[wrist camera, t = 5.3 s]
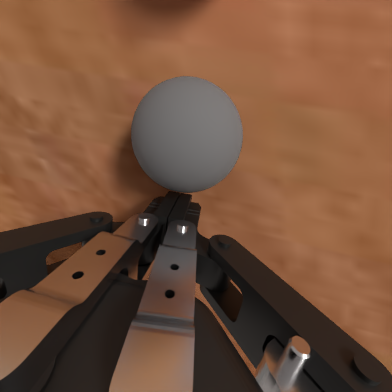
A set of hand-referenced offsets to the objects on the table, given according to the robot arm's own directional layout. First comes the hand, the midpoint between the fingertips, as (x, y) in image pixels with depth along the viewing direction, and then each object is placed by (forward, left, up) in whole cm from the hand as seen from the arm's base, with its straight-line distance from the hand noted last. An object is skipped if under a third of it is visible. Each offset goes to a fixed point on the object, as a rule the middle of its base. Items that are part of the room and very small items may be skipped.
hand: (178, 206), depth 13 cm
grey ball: (+4, -3, +1) cm, 5 cm away
